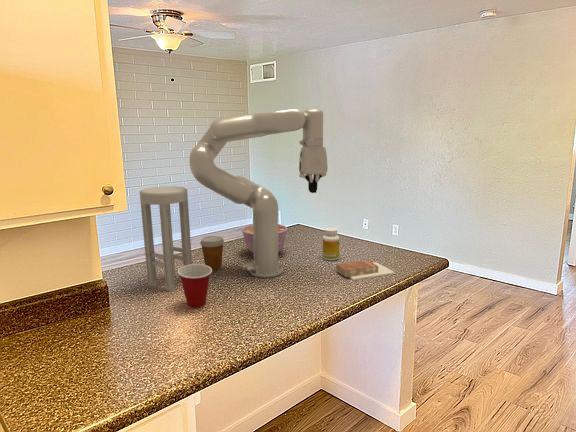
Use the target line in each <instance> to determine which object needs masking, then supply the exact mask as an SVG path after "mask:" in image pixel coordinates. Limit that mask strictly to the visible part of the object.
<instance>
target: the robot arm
mask: <svg viewBox="0 0 576 432" xmlns="http://www.w3.org/2000/svg"><path fill="white" fill-rule="evenodd" d="M301 129H302V139H301V140H299V141H298V143H299V145H302V147H301V148H300V152H299V160H298V162H299V163H298V171H299V178H301V179H302V178H303V179H305V180H306V181H307V184H308V186H307V187H308V192H309V193H311V194H316V193H317V191H318V182H319V181H320V179H321V178H324V177H326V176H327V173H328V167H329V166H328V156H327V150H326V149H327V148H326V147H325V146H324V112H323V110H322V109H313V108H311V109H305V110H301V109H299V108H290V109H285V110H277V111H271V112H255V113H247V114H241V115H235V116H228V117H221V118H217V119H215V120H213V121H212V123H211V124H210V126H209V128H208V129H207V130H206V132H205V133H204V134H203V136H202V137H201V139H199V141H198V142H197V143H196V145H195V146H194V147H192V149H191V151H190V154H189V167H190V171H191V174H192V175H193V177H194V178H195V180H196V181H197V182H198V183H199V184H201V185H202V186H204V187H205V188H207V189H209V190H211V191H213V192H214V193H215V194H218V195H220V196H222V197H223V198H226V199H227V200H228V201H231V202H233V203H235V204H237V205H245V206H247V207H249V208H250V209H252V224H253V246H254V253H253V260H251V262H250V263H249V264H242V265H241V269H242V271H245V270H246V272H249V273H250V275H251V276H253V277H255V278H263V279H268V278H276V277H279V276H280V275H281V274H283V268H282V266H280V265H279V252H278V224H279V203H278V200H277V198H276V197H275V195H274V194H273V192H271V191H270V190H269V189H267V188H265V187H263V186H261V185H260V184H258V183H255V182H254V181H253V180H250V179H248V178H246V177H244V176H240V175H239V176H238V175H236V176H235V175H233V174H231V173H229V172H227V171H225V170H224V169H222V168H219V167H218V166H217V165H216V164H215V161H214V160H215V159H216V157H218V155H219V154H220V152H221V151H222V149H223V148H224V147H225V145H226V144H227V143H230V142H236V141H243V140H247V139H248V140H250V139H255V138H261V137H265V136H270V135H277V134H282V133H288V132H295V131H299V130H301Z"/></svg>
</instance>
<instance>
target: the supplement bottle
mask: <svg viewBox="0 0 576 432" xmlns="http://www.w3.org/2000/svg"><path fill="white" fill-rule="evenodd" d="M321 252H322V253H321V254H322V259H324V260H326V261H337V260H338V259H339V258H340V236H339V235H338V228H336V227H326V228H324V234H323V236H322V251H321Z"/></svg>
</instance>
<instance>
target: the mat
mask: <svg viewBox="0 0 576 432" xmlns="http://www.w3.org/2000/svg"><path fill="white" fill-rule="evenodd" d="M372 263H374V264H375V265H377V266H378V272H377V273H371V274H364V275H358V276H352V277H348V278H349V279H350V280H352V281H358V280H359V281H360V280H364V279H371V278H377V277H378V278H379V277H383V276H389V275H395V273H396V272H395V271H393V270H391V269H390V268H388V267H386V266H384V265H382V264H380V263H378V262H377V261H374V262H372Z"/></svg>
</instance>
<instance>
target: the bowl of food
mask: <svg viewBox="0 0 576 432" xmlns="http://www.w3.org/2000/svg"><path fill="white" fill-rule="evenodd" d="M287 230H288V227H287V226H286V225H284V224H279V223H278V253H279V252H280V251H281V250H282V249H283V248H284V243H285V240H286V236H287ZM241 232H242V236H243V239H244V243H245V245H246V248H247V249H248V250H249V252H251V253H253V254H254V246H253V223H252V224H248V225H245V226H244V227H242V228H241Z"/></svg>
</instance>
